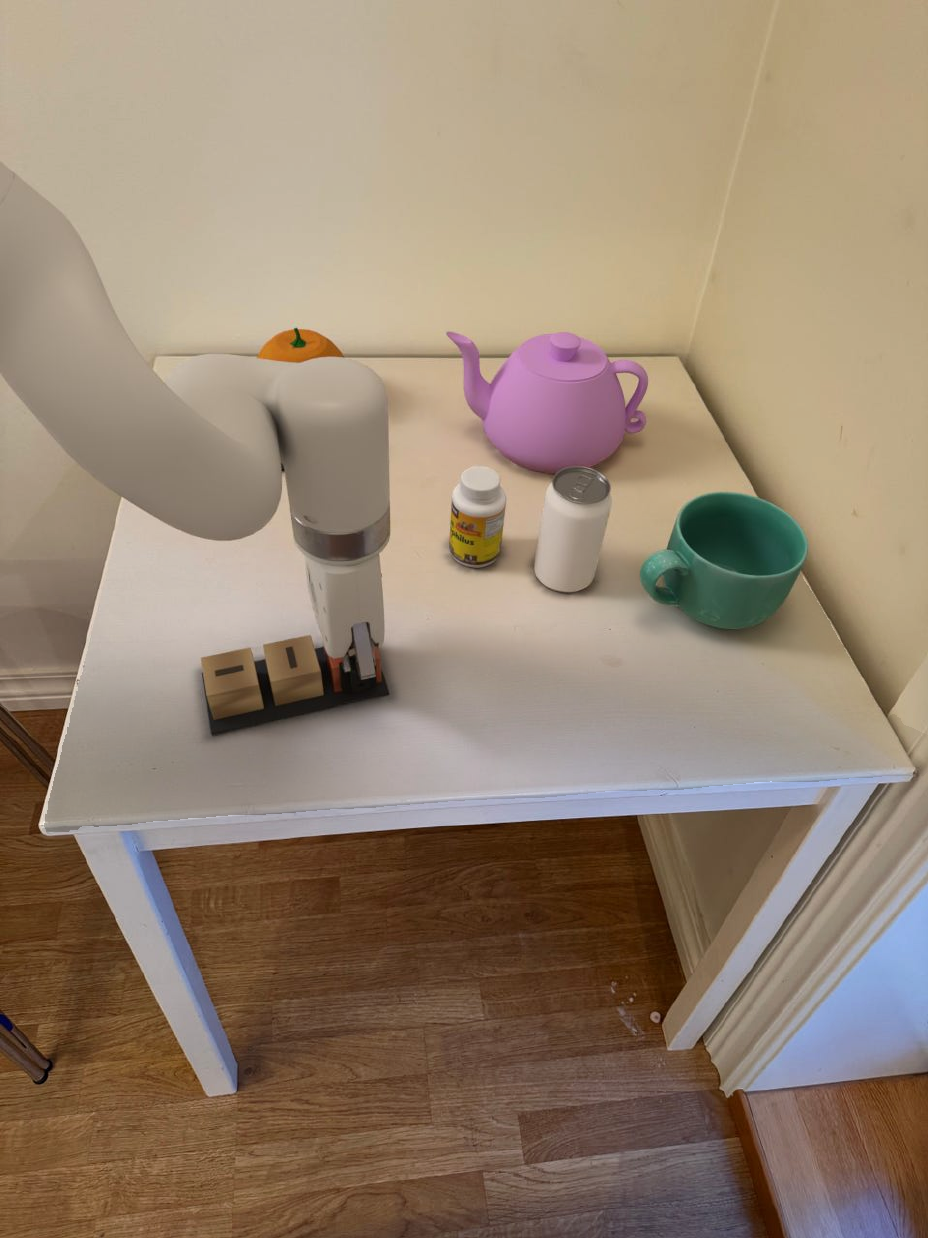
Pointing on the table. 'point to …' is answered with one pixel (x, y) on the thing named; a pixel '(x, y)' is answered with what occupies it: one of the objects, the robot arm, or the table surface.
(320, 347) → the fruit
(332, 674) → the striped orange cube
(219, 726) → the front mat
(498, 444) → the teapot
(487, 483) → the supplement bottle
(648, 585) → the mug
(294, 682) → the wooden cube
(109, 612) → the table surface
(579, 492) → the can
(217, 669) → the wooden cube
